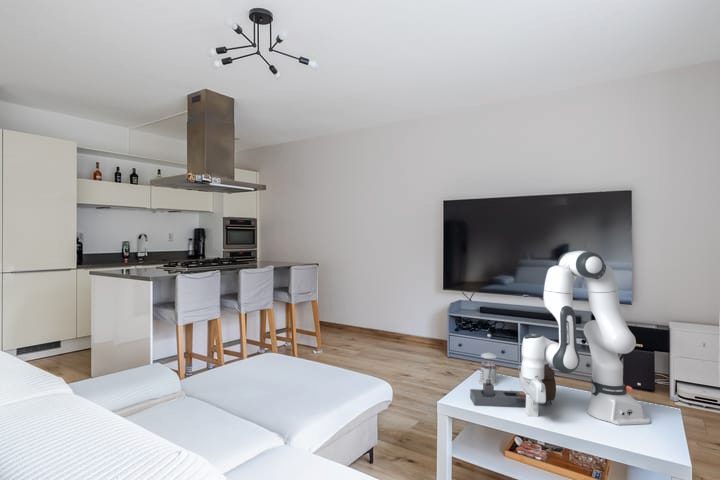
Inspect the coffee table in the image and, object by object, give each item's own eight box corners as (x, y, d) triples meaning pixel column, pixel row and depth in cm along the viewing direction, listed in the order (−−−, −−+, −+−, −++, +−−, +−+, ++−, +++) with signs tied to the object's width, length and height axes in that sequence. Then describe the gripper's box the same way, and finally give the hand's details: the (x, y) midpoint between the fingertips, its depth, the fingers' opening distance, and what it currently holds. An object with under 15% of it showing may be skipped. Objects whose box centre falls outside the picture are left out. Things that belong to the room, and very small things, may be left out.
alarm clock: (528, 395, 193) (528, 353, 193) (543, 396, 193) (544, 353, 193) (540, 408, 179) (541, 362, 179) (557, 408, 178) (558, 363, 178)
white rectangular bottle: (535, 413, 173) (535, 390, 173) (537, 416, 170) (538, 392, 170) (525, 413, 173) (526, 389, 173) (528, 416, 170) (528, 392, 170)
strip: (523, 400, 188) (523, 390, 188) (530, 407, 179) (530, 397, 179) (470, 397, 189) (470, 387, 189) (474, 405, 180) (474, 395, 180)
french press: (496, 380, 214) (497, 332, 214) (500, 388, 203) (501, 337, 203) (476, 379, 216) (477, 331, 216) (480, 386, 204) (481, 336, 204)
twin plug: (491, 401, 186) (492, 379, 186) (493, 403, 183) (493, 381, 183) (482, 400, 186) (483, 378, 186) (484, 403, 183) (484, 381, 183)
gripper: (550, 381, 161) (549, 416, 161) (531, 365, 181) (530, 396, 181) (534, 380, 161) (533, 415, 161) (517, 365, 182) (516, 396, 182)
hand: (532, 405), depth 171 cm, fingers closed on white rectangular bottle, 3 cm apart
